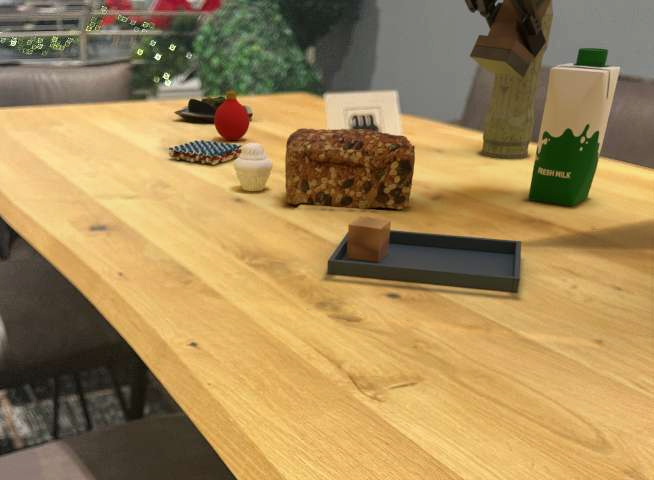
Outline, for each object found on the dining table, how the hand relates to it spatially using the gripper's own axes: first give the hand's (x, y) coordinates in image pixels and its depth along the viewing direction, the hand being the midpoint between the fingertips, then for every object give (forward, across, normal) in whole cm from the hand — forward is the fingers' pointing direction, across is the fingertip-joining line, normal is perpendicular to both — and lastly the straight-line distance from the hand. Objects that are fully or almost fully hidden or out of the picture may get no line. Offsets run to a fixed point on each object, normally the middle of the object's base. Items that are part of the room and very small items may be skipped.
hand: (523, 47), depth 112 cm
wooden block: (-16, +15, -43) cm, 48 cm away
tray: (-12, +21, -40) cm, 47 cm away
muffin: (-9, -23, -37) cm, 45 cm away
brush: (-2, 0, -5) cm, 6 cm away
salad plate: (+13, -83, -16) cm, 86 cm away
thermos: (+30, -19, +2) cm, 36 cm away
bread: (-4, -8, -32) cm, 33 cm away
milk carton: (+16, +9, -12) cm, 22 cm away
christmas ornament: (+5, -59, -24) cm, 64 cm away
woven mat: (-5, -47, -33) cm, 58 cm away
